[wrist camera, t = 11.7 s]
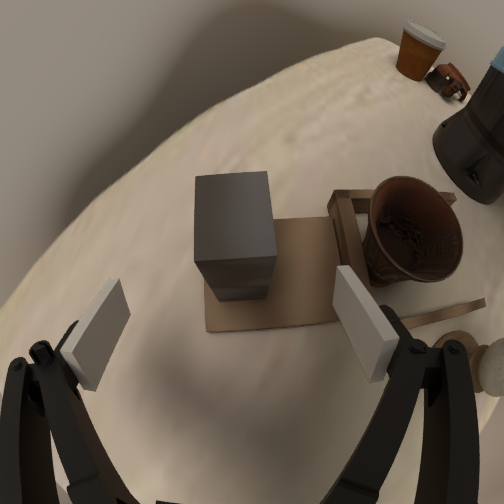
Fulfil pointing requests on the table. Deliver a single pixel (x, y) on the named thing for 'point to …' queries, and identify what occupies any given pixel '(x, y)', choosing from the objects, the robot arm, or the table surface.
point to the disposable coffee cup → (418, 50)
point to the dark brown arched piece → (448, 81)
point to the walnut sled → (279, 256)
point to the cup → (410, 234)
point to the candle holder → (482, 362)
